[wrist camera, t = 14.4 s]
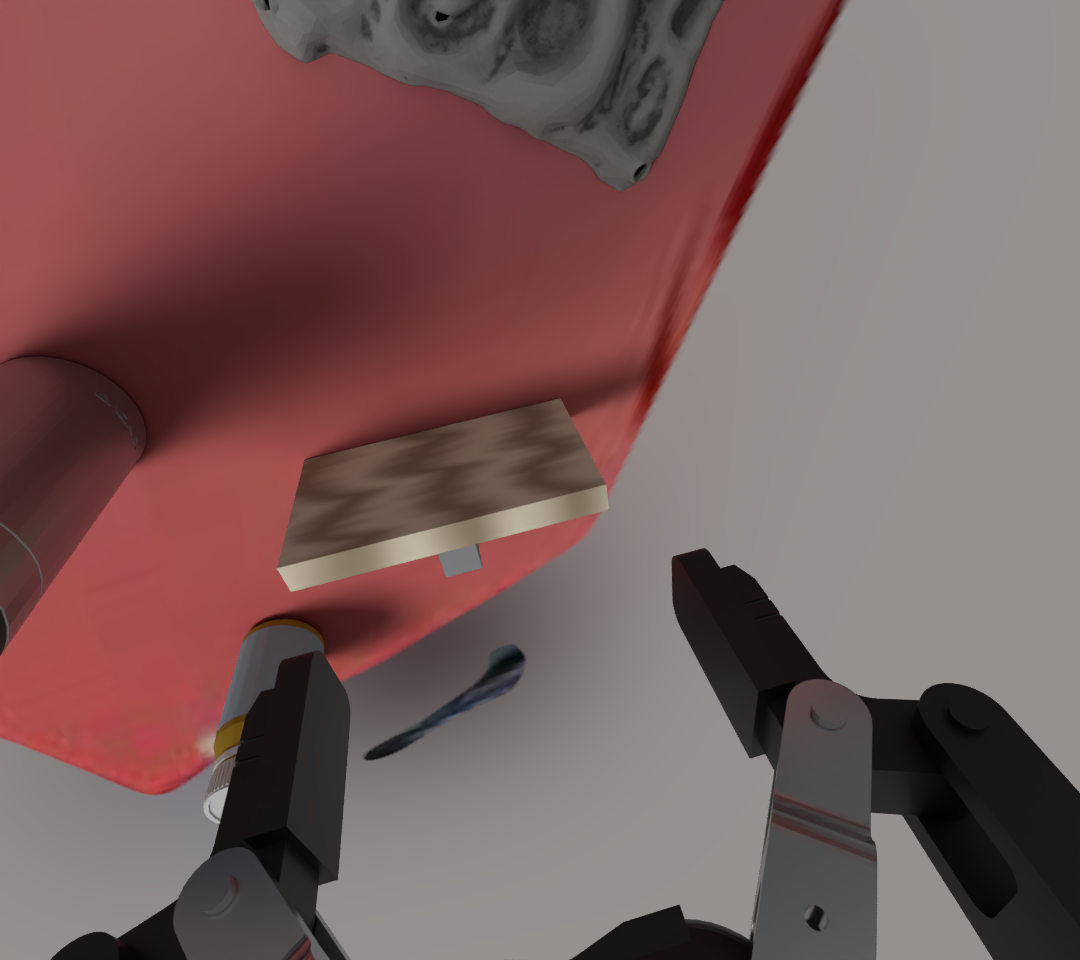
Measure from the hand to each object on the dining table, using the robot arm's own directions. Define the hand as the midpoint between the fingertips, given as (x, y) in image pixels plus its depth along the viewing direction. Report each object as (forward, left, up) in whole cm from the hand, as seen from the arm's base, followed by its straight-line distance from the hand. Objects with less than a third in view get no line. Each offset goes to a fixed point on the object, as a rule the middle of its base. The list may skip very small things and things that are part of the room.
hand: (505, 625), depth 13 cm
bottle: (-22, -29, -30) cm, 47 cm away
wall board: (-3, -15, -30) cm, 34 cm away
